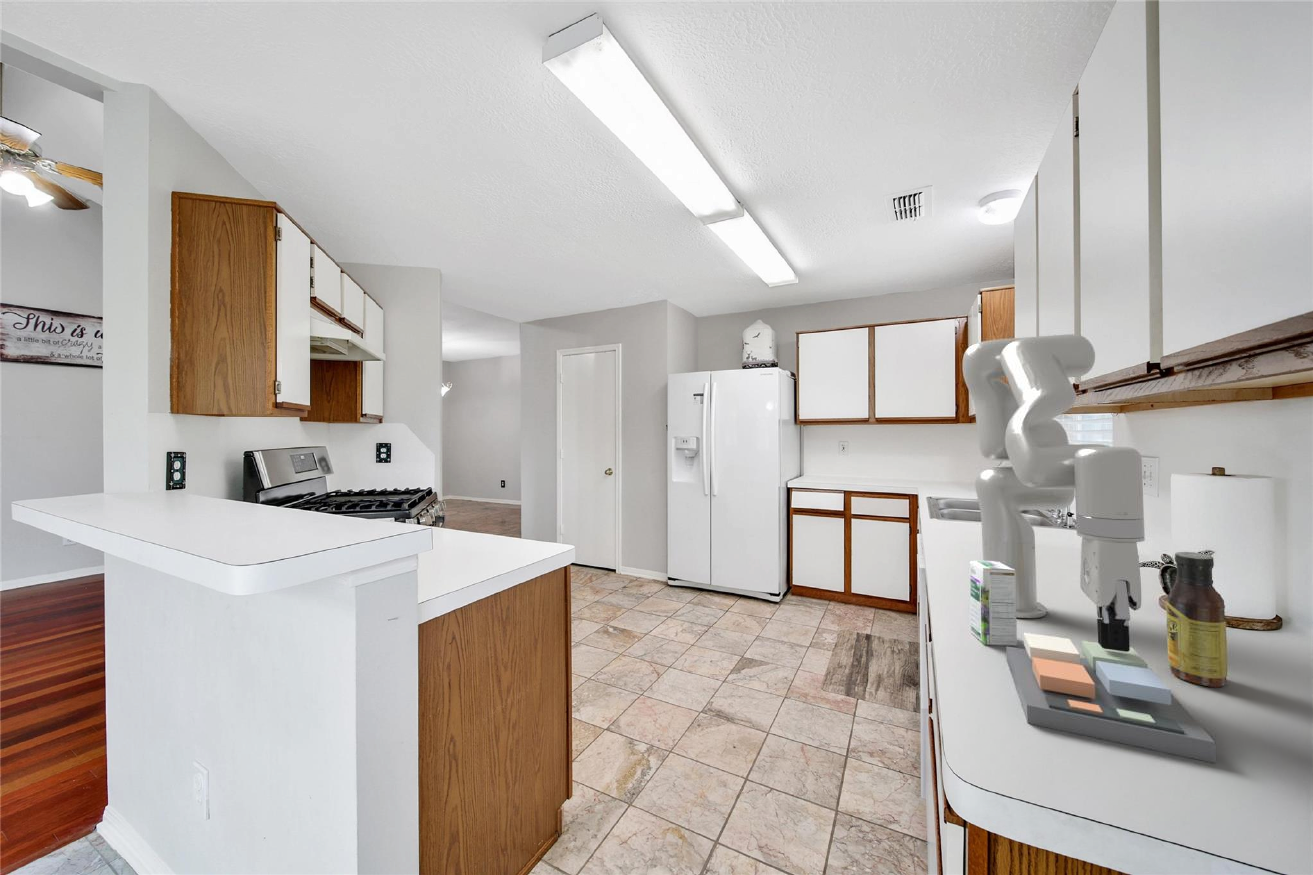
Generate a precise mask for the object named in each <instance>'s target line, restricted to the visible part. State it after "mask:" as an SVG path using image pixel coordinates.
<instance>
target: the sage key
mask: <svg viewBox="0 0 1313 875" xmlns="http://www.w3.org/2000/svg"><path fill="white" fill-rule="evenodd" d="M1081 654H1082V656H1083V658H1085V659H1086V660H1087V661H1088V663H1089V664H1090V666H1091V667H1092V669H1093V670H1096V661H1101V662H1108V663H1114V664H1121V665H1127V666H1134V667H1140V668H1147V669H1148V668H1149V665H1148V663H1147V662H1146V661H1145V660H1144V659H1143V658H1142V657H1141V656H1140V654H1139V653H1138V652H1137V651H1136V650H1135V649H1134V648H1133V647H1130V650H1129V651H1128V652H1124V651H1117V650H1110V649H1104V648H1102V647H1101V645H1100V644H1099V643H1098V642H1094V641H1085V640H1081Z"/></svg>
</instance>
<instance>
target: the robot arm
mask: <svg viewBox="0 0 1313 875" xmlns="http://www.w3.org/2000/svg"><path fill="white" fill-rule="evenodd" d="M1095 360H1096V352H1095V348H1094V346H1093V344H1092V343H1091V341H1090V340H1088V338H1087V337H1085V336H1082V335H1080V334H1076V333H1068V334H1058V335H1057V334H1055V335H1041V336H1029V337H1028V336H1027V337H1025V336H1024V337H1016V338H997V339H991V340H986V341H985V340H984V341H980V342H976V343H975V344H972V345H970V346H969V347H968V348H966V350H965V352H964V353H963V358H962V375H963V379H964V382H965V384H966V387H967V389H968V392H969V394H970V396H971V398H972V400H973V405H974V412H975V422H976V432H977V439H978V446H979V450H980V453H981V455H982V457H984V458H985V459H987V460H990V461H999V462H1000V461H1002V462H1007V461H1008V462H1010V465H1011V466H996V467H989V468H986V469H983V470H982V471H980V472H979V473H978V474H977V475H976V478H975V484H974V485H975V486H974V487H975V492H976V497H977V500H978V504H979V505H978V506H979V513H980V521H981V536H982V537H981V538H982V542H981V543H982V561H995V562H1000V563H1002V564H1004V565H1006V566H1008V567H1009V568H1011V569H1015V574H1016V618H1019V619H1037V618H1041V617H1042V618H1043V617H1045V616H1046V614H1047V608H1046V606H1045V604H1044V605H1043V603H1041V602H1039V601H1038V598H1037V597H1038V596H1037V591H1038V590H1037V567H1036V566H1037V564H1036V534H1035V531H1034V528H1033V526H1032V524H1031V523H1030V522H1029V521H1028V520H1027V519H1026V518H1025V517H1024V516H1023V515H1022V513H1021V511H1029V510H1031V511H1035V510H1036V511H1043V510H1044V511H1046V510H1048V511H1055V510H1056V511H1059V510H1063V509H1067V508H1069V507H1070V506H1071V505H1072V504H1073V501H1074V499H1075V520H1076V521H1075V522H1076V524H1075V525H1076V535H1077V536H1078V537H1080V538H1081V543H1080V544H1081V545H1080V573H1079V574H1080V576H1079V577H1080V580H1079V583H1080V584H1079V585H1080V589H1081V591H1082V592H1083V593H1084V594H1085V596H1086V597H1087V598H1088V599H1089V600H1090V601H1091V602H1092V603H1094V605H1096V614H1097V618H1096V621H1097V622H1096V623H1097V624H1096V625H1097V626H1096V627H1097V643H1099V644H1100V645H1101V647H1102V648H1104V649H1110V650H1117V651H1124V652H1128V651H1129V650H1130V620H1131V613H1130V609H1131V610H1133V611H1137V610H1140V609H1141V608H1142V582H1141V581H1142V580H1141V570H1140V559H1139V558H1140V556H1139V550H1138V543H1142V542H1145V539H1146V538H1145V518H1144V516H1145V513H1144V512H1145V511H1144V488H1143V486H1144V485H1143V461H1142V460H1143V459H1142V456H1141V453H1140V452H1139V451H1138V449H1135V448H1133V447H1128V446H1127V447H1126V446H1110V445H1106V444H1101V443H1100V444H1099V443H1091V444H1090V443H1085V444H1083V443H1081V444H1074V443H1072V444H1071V443H1070V444H1069V438H1068V435H1067V432H1066V430H1065V428H1064V426H1063V425H1062V424H1061V422H1059V421H1057V420H1056V419H1054V418H1056V417H1058V416H1060V415H1062V414H1064V413H1066V412H1067V411H1068V410H1070V409H1071V408H1072V407H1073V405H1074V404H1075V402H1076V401H1077V392H1076V390H1075V388H1074V386H1073V385H1072V383H1071V381H1070V379H1069V378H1079V377H1082V376H1085V375H1087V374H1088V373H1089V372H1090V371H1091V370H1092V369H1093V367H1094V366H1095ZM1000 378H1006V380H1007V383H1008V384H1009V385H1008V384H1007V383H1005V381H1003V380H1001V379H1000Z"/></svg>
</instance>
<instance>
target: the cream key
mask: <svg viewBox="0 0 1313 875" xmlns="http://www.w3.org/2000/svg"><path fill="white" fill-rule="evenodd" d="M1023 645H1024V649H1026V650H1027V653H1028V655H1029V657H1030V660H1032V657H1034V658H1040V659H1046V660H1053V661H1059V662H1065V663H1072V664H1078V665H1080V658H1081V657H1080V652H1079V651H1078V650H1077V648H1076V646H1075V645H1074V643H1073V642H1072V640H1071V639H1070V638H1066V637H1059V636H1051V635H1043V634H1038V633H1037V634H1036V633H1029V632H1023Z"/></svg>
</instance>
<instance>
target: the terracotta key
mask: <svg viewBox="0 0 1313 875" xmlns="http://www.w3.org/2000/svg"><path fill="white" fill-rule="evenodd" d="M1032 670H1033V672H1034V675H1035V677H1036V679H1037V682H1038V684H1039V687H1040V689H1045V690H1051V691H1056V692H1062V693H1067V694H1072V695H1078V696H1083V697H1089V698H1094V699H1095V684H1094V682H1093V681H1092V679H1091V678H1090V676H1089V674H1088V673H1087V671H1086V670H1085V668H1084V667H1083V665H1078V664H1072V663H1065V662H1059V661H1053V660H1046V659H1040V658H1034V657H1032Z"/></svg>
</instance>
